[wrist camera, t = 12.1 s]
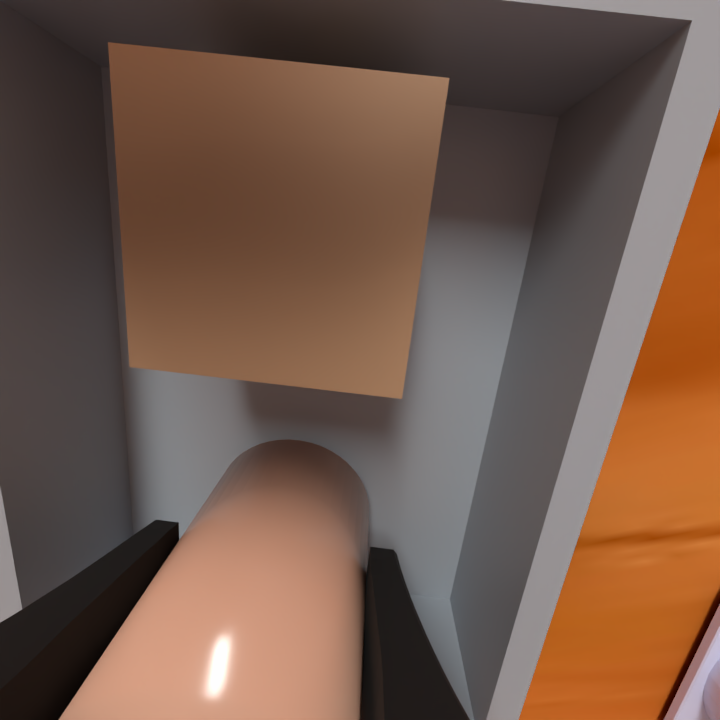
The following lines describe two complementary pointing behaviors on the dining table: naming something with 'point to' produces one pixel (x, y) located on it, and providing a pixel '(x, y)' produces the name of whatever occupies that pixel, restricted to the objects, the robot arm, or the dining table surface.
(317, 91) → the walnut cube
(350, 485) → the peach capsule
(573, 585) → the dining table surface
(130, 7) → the tote
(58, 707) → the robot arm
